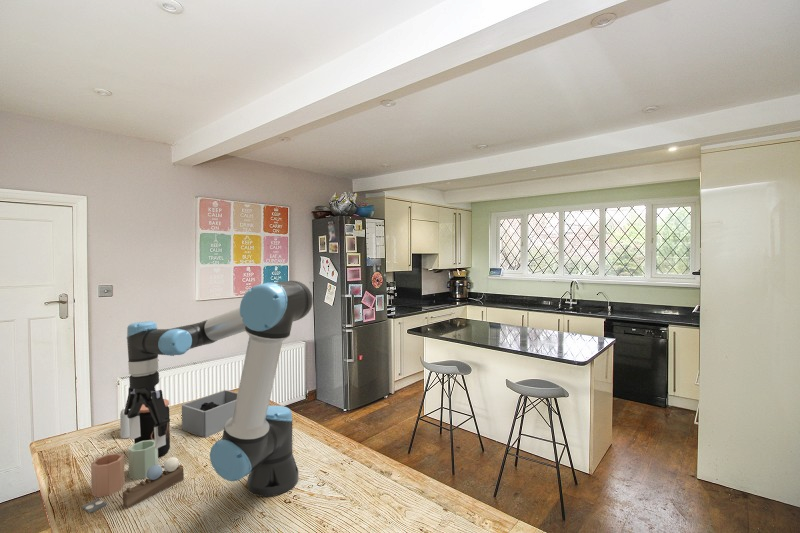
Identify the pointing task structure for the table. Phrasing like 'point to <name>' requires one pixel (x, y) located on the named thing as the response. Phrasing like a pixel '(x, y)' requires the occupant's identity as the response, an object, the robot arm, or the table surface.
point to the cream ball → (171, 464)
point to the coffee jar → (152, 429)
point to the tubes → (119, 471)
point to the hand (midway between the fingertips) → (147, 442)
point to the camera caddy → (208, 413)
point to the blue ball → (154, 472)
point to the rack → (151, 487)
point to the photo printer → (124, 424)
